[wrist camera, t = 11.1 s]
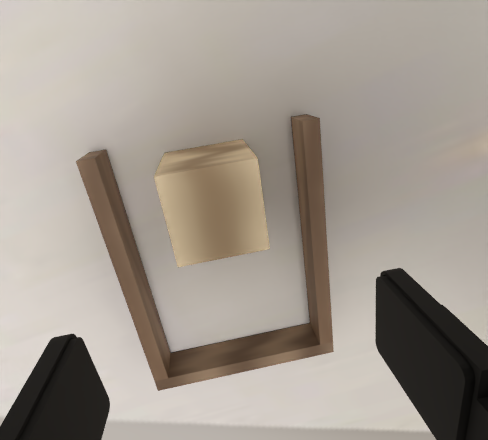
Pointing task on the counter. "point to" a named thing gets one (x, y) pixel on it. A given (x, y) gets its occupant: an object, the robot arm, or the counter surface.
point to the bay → (242, 349)
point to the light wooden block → (212, 202)
